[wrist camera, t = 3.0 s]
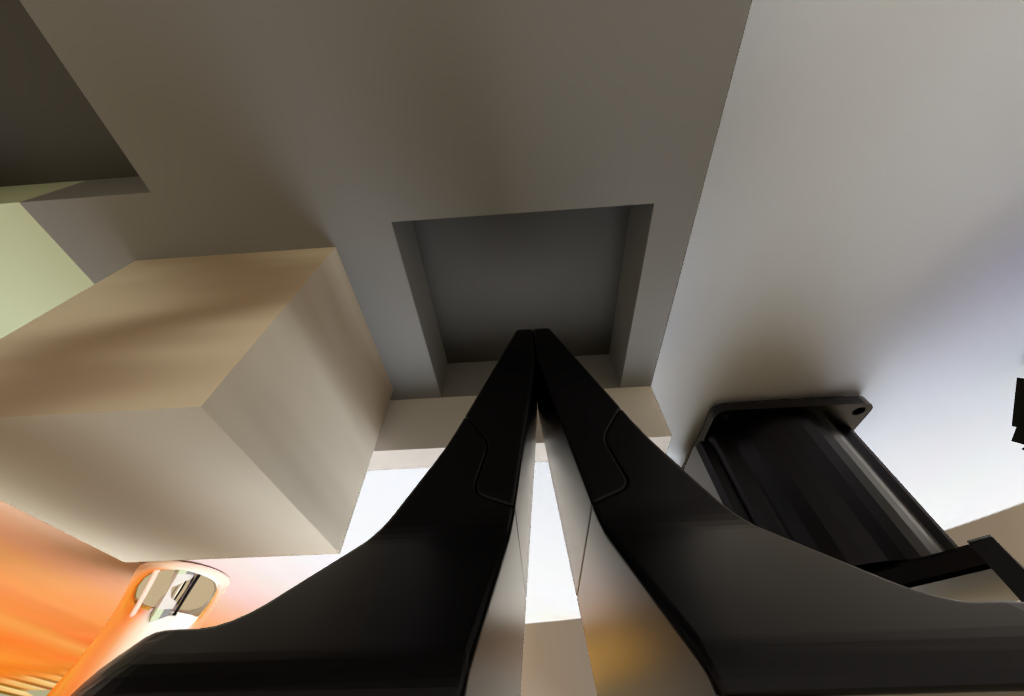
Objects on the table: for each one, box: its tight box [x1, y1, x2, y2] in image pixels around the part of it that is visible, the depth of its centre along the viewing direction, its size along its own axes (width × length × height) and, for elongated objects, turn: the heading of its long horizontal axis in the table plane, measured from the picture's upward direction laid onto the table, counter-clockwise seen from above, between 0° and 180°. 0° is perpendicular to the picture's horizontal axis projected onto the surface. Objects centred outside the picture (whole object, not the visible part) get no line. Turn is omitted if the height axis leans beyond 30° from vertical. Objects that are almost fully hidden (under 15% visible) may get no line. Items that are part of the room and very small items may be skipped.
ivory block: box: [0, 247, 393, 562], centre depth 8 cm, size 5×5×5 cm
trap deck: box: [0, 0, 752, 470], centre depth 8 cm, size 22×16×4 cm
